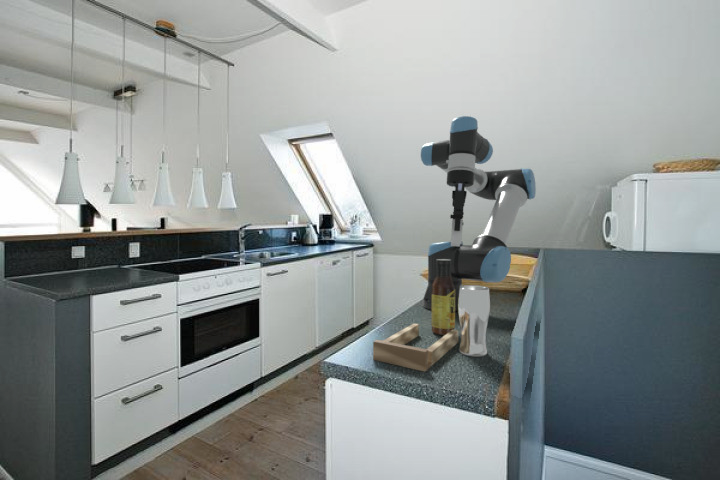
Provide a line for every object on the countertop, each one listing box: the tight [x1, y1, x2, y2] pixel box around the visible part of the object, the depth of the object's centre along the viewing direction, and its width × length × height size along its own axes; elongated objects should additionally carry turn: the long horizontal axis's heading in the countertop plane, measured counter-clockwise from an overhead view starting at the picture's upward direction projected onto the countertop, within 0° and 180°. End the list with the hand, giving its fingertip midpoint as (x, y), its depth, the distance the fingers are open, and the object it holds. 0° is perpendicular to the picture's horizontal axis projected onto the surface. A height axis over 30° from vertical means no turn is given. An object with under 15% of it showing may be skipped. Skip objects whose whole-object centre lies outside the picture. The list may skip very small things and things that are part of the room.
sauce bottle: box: [431, 259, 456, 336], centre depth 100 cm, size 6×6×20 cm
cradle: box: [372, 323, 459, 372], centre depth 87 cm, size 22×12×4 cm, turn 148°
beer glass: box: [457, 284, 491, 358], centre depth 85 cm, size 7×7×15 cm
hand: (455, 245), depth 106 cm, fingers open, 13 cm apart
